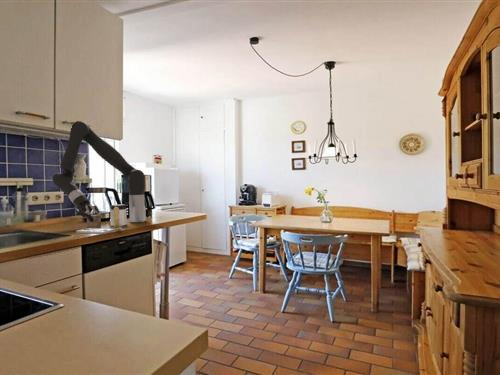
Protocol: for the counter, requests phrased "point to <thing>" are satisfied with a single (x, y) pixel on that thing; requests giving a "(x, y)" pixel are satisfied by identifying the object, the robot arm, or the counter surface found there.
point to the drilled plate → (95, 231)
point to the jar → (121, 214)
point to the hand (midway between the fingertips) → (96, 220)
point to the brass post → (116, 219)
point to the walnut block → (94, 222)
